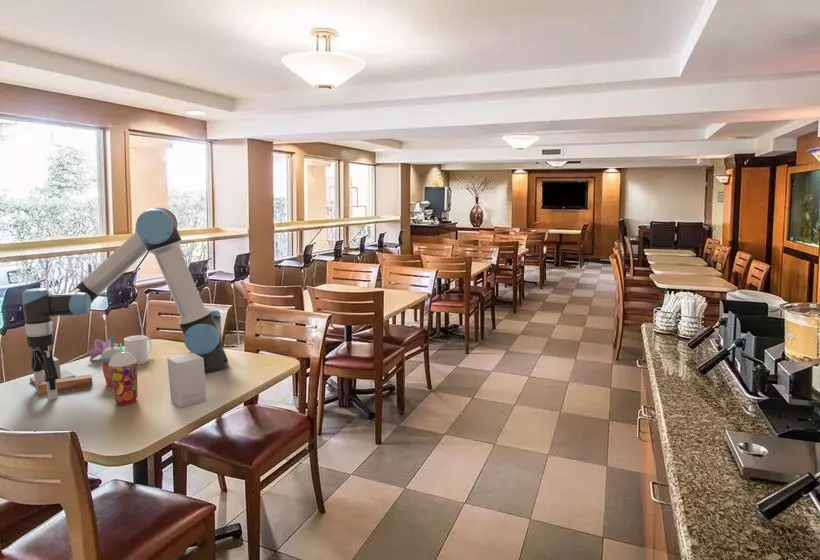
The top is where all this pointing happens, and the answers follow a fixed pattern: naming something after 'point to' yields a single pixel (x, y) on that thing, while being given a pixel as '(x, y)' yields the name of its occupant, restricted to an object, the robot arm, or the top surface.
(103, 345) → the lily
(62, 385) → the batten
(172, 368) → the supplement box
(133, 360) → the smoothie
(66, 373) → the ridge stand
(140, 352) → the cup
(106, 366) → the cup with straw
